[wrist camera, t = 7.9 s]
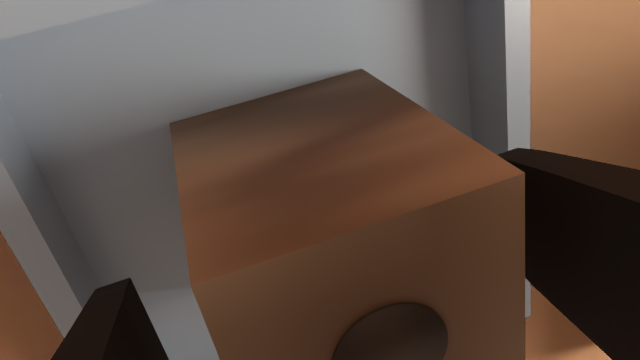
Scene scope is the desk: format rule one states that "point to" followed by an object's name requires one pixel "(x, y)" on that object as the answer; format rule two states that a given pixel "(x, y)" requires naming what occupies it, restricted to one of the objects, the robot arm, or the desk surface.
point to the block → (350, 229)
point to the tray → (198, 98)
